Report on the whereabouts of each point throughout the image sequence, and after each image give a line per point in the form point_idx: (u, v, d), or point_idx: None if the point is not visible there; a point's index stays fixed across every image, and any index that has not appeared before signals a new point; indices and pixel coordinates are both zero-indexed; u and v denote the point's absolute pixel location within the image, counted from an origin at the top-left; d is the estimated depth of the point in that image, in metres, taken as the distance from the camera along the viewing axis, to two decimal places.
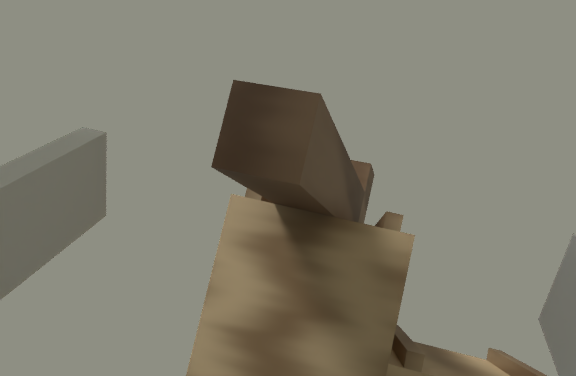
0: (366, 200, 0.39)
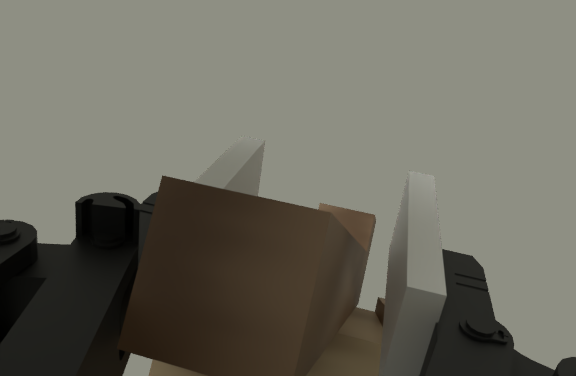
0: (367, 257, 0.30)
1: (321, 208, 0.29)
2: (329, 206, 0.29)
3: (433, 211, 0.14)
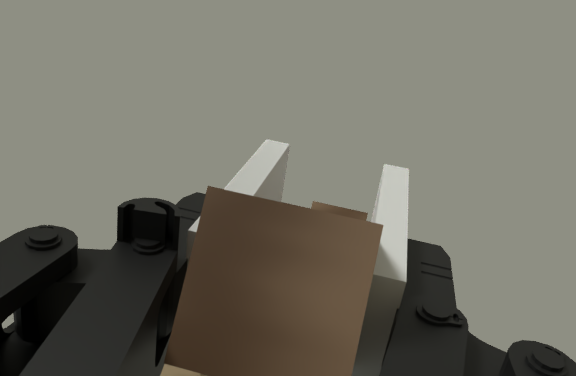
0: None
1: (314, 206, 0.29)
2: (322, 204, 0.29)
3: (403, 202, 0.14)
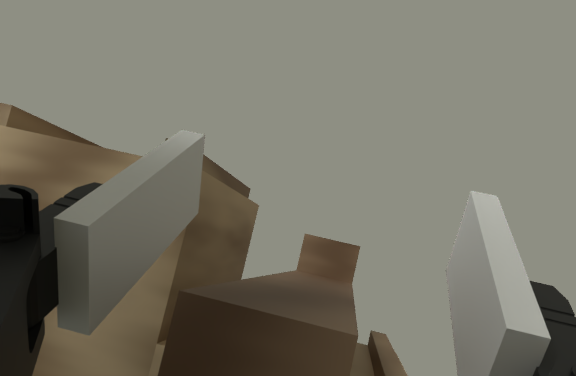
0: None
1: (306, 239, 0.29)
2: (314, 237, 0.29)
3: (508, 237, 0.13)
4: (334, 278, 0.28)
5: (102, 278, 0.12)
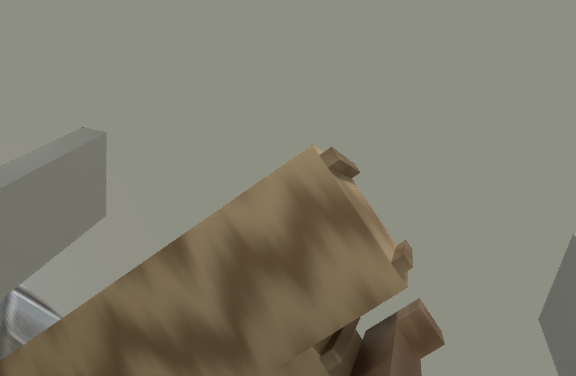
0: None
1: (418, 311, 0.38)
2: (423, 314, 0.38)
3: None
4: (413, 346, 0.38)
5: None
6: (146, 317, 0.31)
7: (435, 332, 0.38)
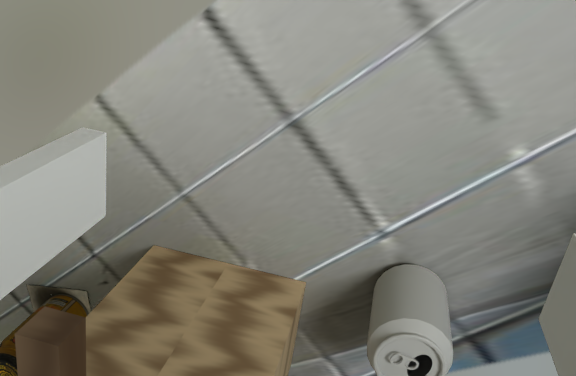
0: None
1: None
2: None
3: None
4: None
5: None
6: None
7: None
